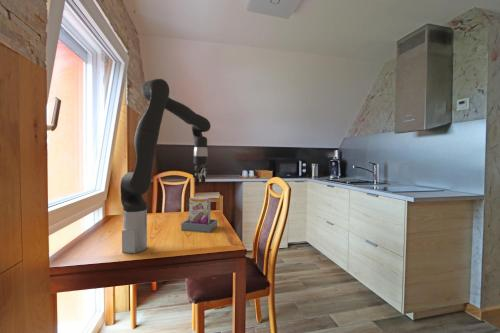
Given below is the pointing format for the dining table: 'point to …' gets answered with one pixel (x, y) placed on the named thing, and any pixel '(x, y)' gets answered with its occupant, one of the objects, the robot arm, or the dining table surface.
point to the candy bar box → (199, 210)
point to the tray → (199, 226)
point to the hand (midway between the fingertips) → (200, 184)
